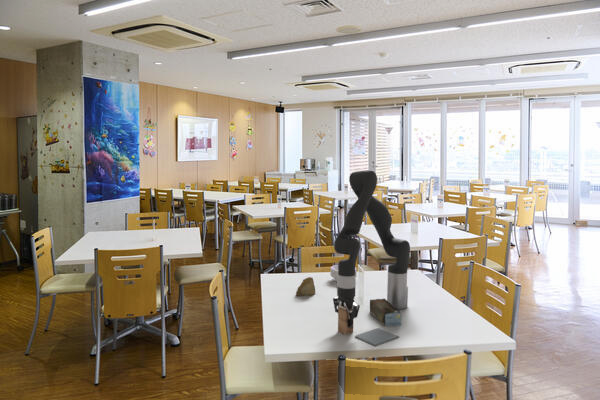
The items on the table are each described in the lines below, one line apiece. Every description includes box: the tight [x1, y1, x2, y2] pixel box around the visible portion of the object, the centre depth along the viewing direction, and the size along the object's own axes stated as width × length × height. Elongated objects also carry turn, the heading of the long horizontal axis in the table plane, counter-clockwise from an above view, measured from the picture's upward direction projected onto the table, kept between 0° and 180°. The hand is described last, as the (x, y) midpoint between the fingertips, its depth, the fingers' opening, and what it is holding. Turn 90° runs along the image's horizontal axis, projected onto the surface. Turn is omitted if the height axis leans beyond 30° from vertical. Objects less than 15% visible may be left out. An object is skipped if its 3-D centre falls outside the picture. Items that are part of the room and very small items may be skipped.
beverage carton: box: [369, 298, 402, 327], centre depth 206 cm, size 8×19×7 cm, turn 12°
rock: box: [295, 276, 316, 297], centre depth 240 cm, size 11×9×10 cm
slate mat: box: [354, 327, 400, 347], centre depth 185 cm, size 14×11×1 cm
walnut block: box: [337, 305, 355, 335], centre depth 190 cm, size 4×4×11 cm
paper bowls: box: [330, 264, 358, 283], centre depth 266 cm, size 15×15×8 cm
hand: (345, 324), depth 190 cm, fingers closed on walnut block, 4 cm apart
